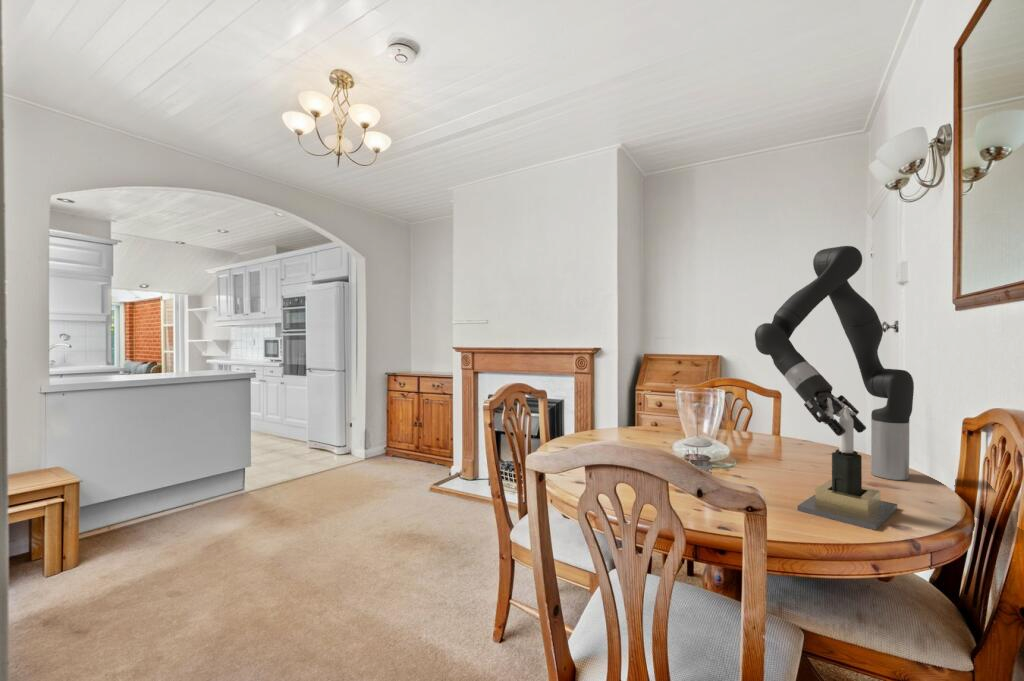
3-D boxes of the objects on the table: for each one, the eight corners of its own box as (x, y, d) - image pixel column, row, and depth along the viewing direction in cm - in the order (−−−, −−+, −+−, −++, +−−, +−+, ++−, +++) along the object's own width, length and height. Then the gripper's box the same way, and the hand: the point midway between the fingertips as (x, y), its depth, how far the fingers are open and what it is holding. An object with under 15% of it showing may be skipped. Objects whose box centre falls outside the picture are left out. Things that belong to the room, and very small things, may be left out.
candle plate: (824, 492, 132) (824, 474, 132) (897, 508, 120) (897, 489, 120) (797, 510, 119) (797, 490, 119) (875, 530, 107) (875, 508, 107)
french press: (721, 490, 134) (721, 403, 134) (704, 501, 126) (704, 407, 126) (688, 483, 141) (688, 399, 141) (669, 492, 133) (669, 404, 133)
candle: (863, 506, 118) (863, 406, 118) (850, 509, 116) (849, 407, 116) (843, 499, 123) (842, 403, 123) (829, 502, 121) (829, 405, 121)
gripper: (800, 374, 123) (847, 426, 113) (834, 372, 129) (881, 421, 119) (781, 392, 128) (824, 443, 118) (814, 389, 134) (858, 438, 124)
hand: (852, 432), depth 118 cm, fingers open, 8 cm apart
